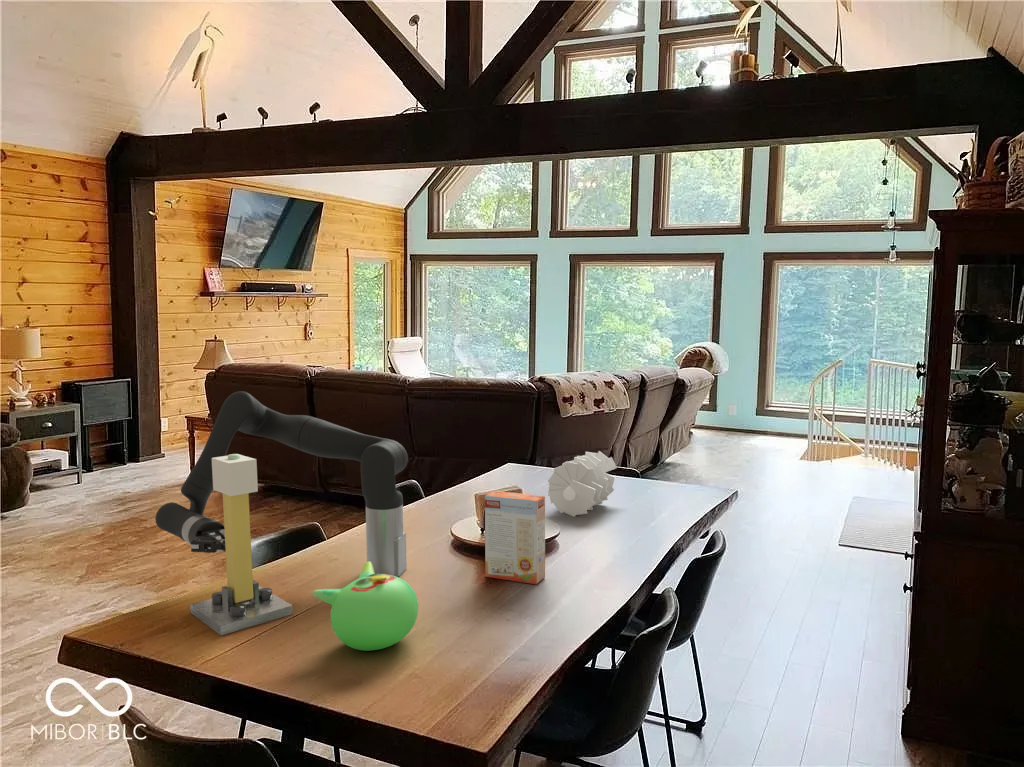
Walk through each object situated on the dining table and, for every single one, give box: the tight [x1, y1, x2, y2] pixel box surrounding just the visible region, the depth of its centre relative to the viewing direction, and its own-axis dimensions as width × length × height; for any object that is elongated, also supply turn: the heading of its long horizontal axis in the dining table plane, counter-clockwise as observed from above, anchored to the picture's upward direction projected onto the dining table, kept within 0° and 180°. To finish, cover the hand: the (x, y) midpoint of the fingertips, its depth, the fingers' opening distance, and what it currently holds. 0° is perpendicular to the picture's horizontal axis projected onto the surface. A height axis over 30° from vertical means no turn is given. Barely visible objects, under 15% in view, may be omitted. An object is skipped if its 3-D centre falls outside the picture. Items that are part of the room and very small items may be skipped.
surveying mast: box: [212, 453, 259, 605], centre depth 170 cm, size 9×6×33 cm, turn 43°
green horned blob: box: [312, 561, 419, 652], centre depth 156 cm, size 18×17×15 cm
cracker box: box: [484, 490, 546, 585], centre depth 192 cm, size 14×6×21 cm, turn 65°
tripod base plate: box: [189, 579, 294, 636], centre depth 171 cm, size 16×16×6 cm
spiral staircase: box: [547, 450, 618, 518], centre depth 255 cm, size 18×18×25 cm
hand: (234, 548), depth 172 cm, fingers closed
